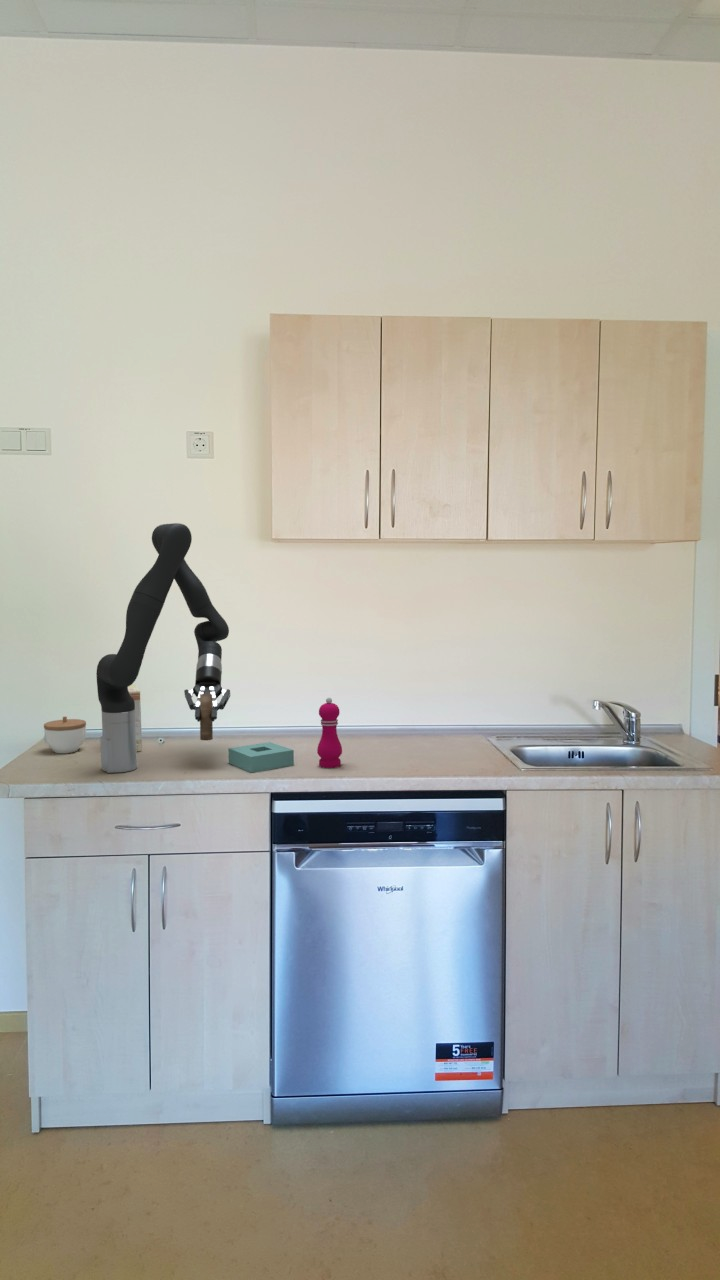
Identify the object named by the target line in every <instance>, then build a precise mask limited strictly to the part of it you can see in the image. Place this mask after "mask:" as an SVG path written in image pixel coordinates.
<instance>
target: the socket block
mask: <svg viewBox="0 0 720 1280" xmlns="http://www.w3.org/2000/svg"><path fill="white" fill-rule="evenodd" d="M294 755H295V754H294V749H292V748H289V747H286V746H283V745H281V744H278V743H274V742H270V741H267V742H259V743H254V744H247V745H239V746H234V747H228V764H230V765H231V766H234V767H237V768H239V769H241V770H244V771H246V772H249V773H256V772H263V771H269V770H273V769H279V768H285V767H290V766H291V767H292V766H295V760H294V759H295V758H294Z"/></svg>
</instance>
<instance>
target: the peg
mask: <svg viewBox="0 0 720 1280" xmlns="http://www.w3.org/2000/svg"><path fill="white" fill-rule="evenodd" d="M212 707H213V706H212V694H200V722H199V731H200V732H199V736H200V737H199V738H200V741H212V740H213V735H214V734H213V733H214V732H213V721H212Z"/></svg>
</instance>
